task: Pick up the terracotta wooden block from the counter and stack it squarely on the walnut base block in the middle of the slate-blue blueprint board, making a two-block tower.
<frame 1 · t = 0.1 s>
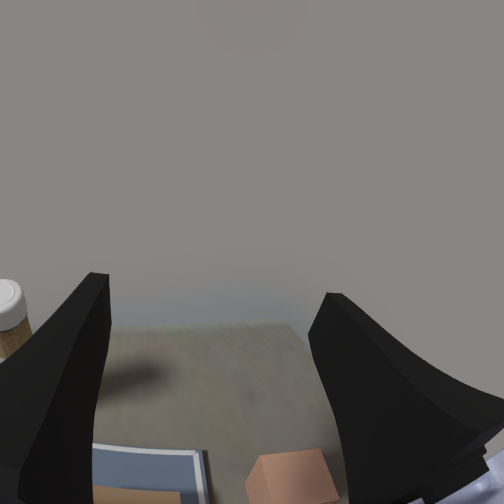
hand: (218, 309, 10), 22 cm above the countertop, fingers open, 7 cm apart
terracotta block: (278, 502, 22), on the countertop
sprinkles bottle: (35, 401, 24), on the countertop
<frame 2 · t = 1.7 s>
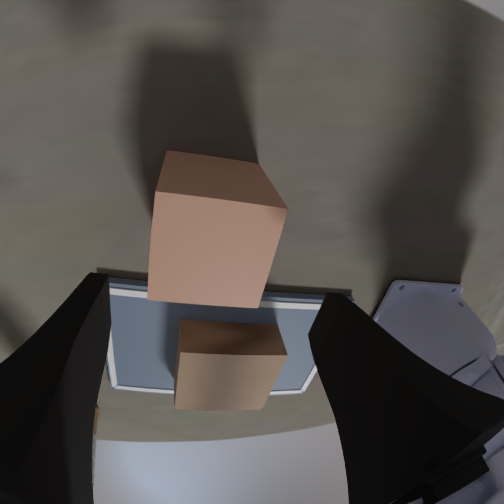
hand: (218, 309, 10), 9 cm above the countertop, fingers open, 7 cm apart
walnut base block: (221, 348, 25), resting on blueprint board
terracotta block: (205, 198, 18), on the countertop
blueprint board: (221, 348, 25), on the countertop
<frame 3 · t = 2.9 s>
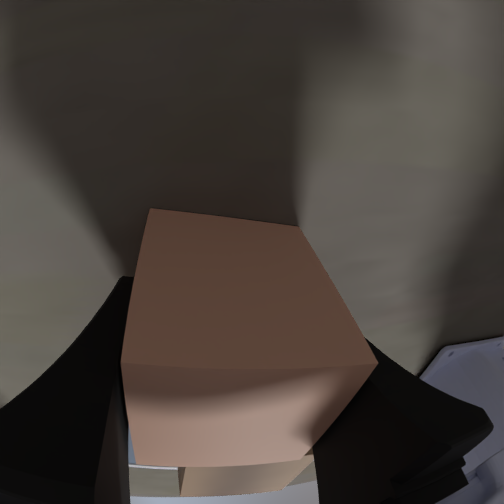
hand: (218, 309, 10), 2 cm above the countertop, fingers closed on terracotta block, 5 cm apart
walnut base block: (233, 431, 18), resting on blueprint board
terracotta block: (214, 279, 12), on the countertop, touching gripper
blueprint board: (233, 431, 18), on the countertop
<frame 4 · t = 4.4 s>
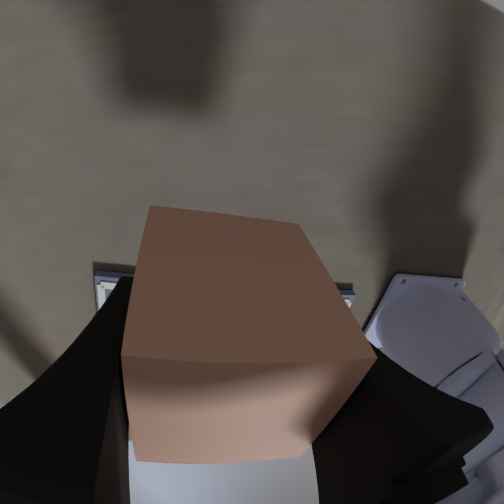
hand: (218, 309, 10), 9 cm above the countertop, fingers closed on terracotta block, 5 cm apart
terracotta block: (214, 276, 12), point 7 cm above the countertop, touching gripper
blueprint board: (220, 344, 24), on the countertop
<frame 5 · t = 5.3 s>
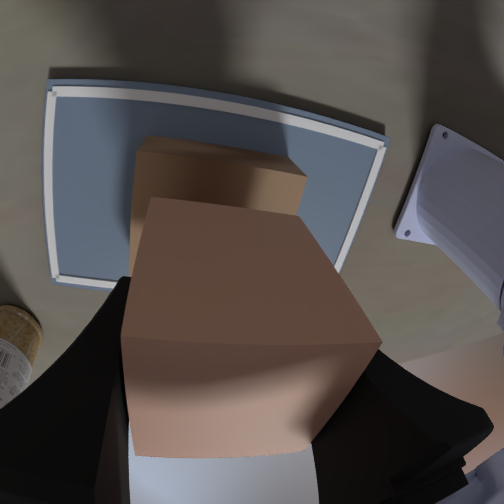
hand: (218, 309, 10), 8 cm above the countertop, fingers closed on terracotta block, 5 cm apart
walnut base block: (206, 205, 17), resting on blueprint board
terracotta block: (215, 269, 12), point 6 cm above the countertop, touching gripper
sprinkles bottle: (20, 323, 19), on the countertop
blueprint board: (206, 205, 17), on the countertop
when the fingers open (6 cm above the countertop, at t = 6.0 s): terracotta block stays where it is, resting on walnut base block.
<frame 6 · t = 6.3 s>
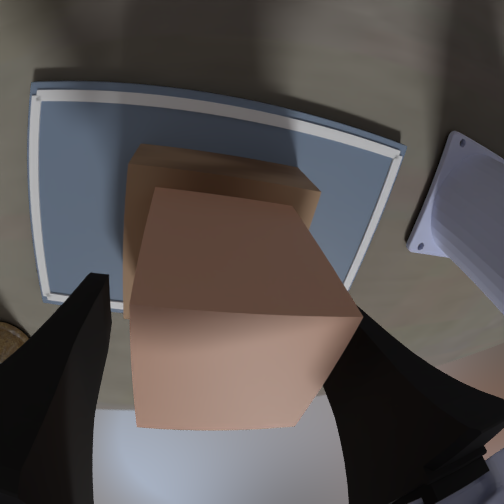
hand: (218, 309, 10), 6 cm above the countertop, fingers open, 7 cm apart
walnut base block: (206, 219, 16), resting on blueprint board
terracotta block: (213, 255, 13), point 4 cm above the countertop, touching walnut base block
sprinkles bottle: (12, 339, 18), on the countertop
blueprint board: (206, 219, 16), on the countertop
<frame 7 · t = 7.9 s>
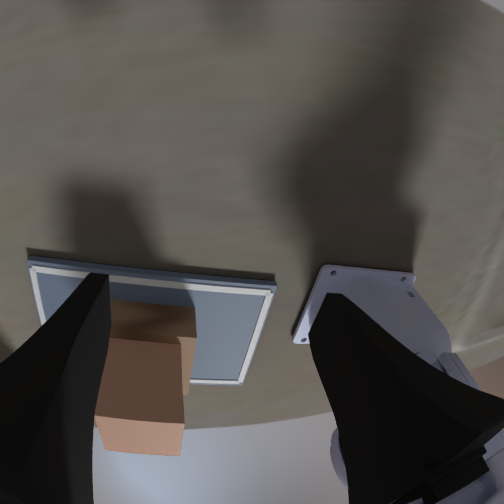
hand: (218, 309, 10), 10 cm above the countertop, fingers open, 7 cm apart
walnut base block: (146, 331, 24), resting on blueprint board
terracotta block: (143, 364, 21), point 4 cm above the countertop, touching walnut base block
blueprint board: (146, 331, 24), on the countertop
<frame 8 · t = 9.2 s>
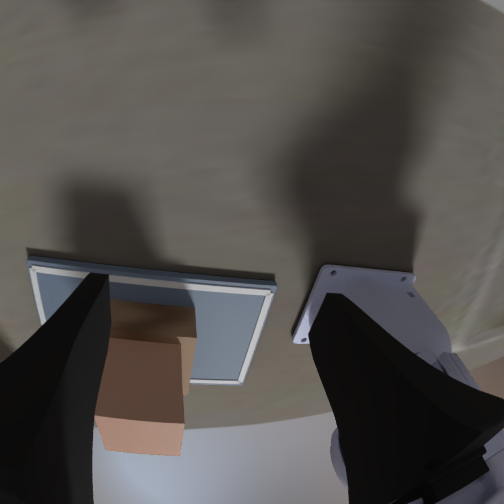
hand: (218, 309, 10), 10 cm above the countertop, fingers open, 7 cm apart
walnut base block: (146, 331, 24), resting on blueprint board
terracotta block: (143, 364, 21), point 4 cm above the countertop, touching walnut base block
blueprint board: (146, 331, 24), on the countertop
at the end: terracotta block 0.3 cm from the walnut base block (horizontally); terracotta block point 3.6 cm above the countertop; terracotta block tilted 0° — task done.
